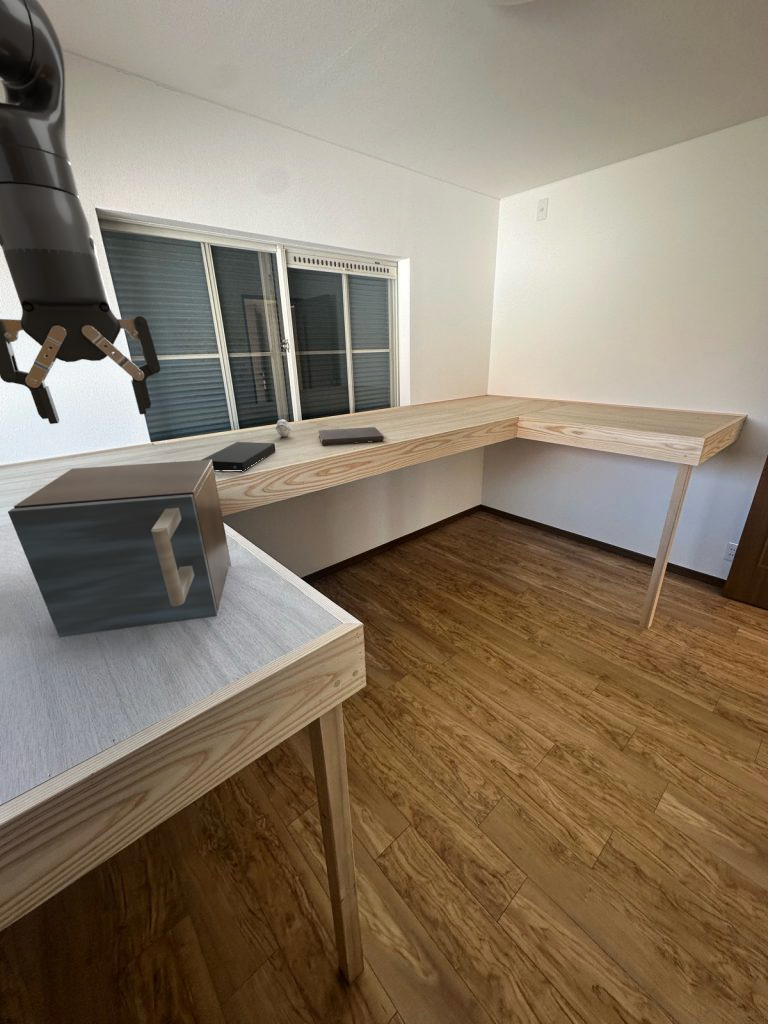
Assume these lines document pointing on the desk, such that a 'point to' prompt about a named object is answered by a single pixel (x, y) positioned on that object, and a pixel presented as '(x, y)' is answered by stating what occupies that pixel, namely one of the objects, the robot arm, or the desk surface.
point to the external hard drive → (240, 455)
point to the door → (117, 562)
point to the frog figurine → (283, 428)
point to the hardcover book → (349, 435)
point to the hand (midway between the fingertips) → (100, 417)
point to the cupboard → (146, 484)
